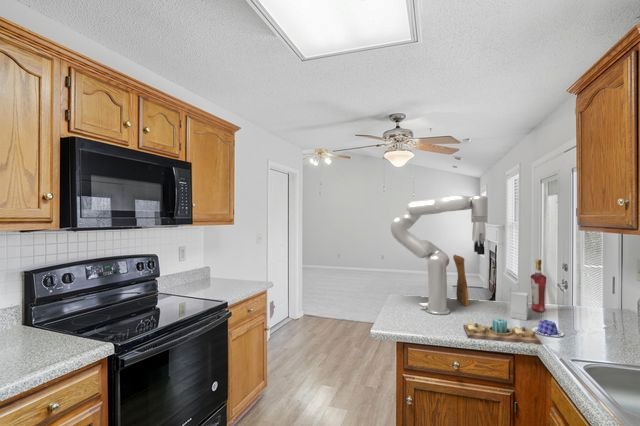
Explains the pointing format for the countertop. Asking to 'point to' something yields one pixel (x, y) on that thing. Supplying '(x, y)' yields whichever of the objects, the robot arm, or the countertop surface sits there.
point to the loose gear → (499, 325)
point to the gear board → (501, 334)
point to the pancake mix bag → (461, 281)
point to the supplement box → (519, 305)
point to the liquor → (538, 289)
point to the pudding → (547, 328)
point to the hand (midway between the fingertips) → (479, 253)
